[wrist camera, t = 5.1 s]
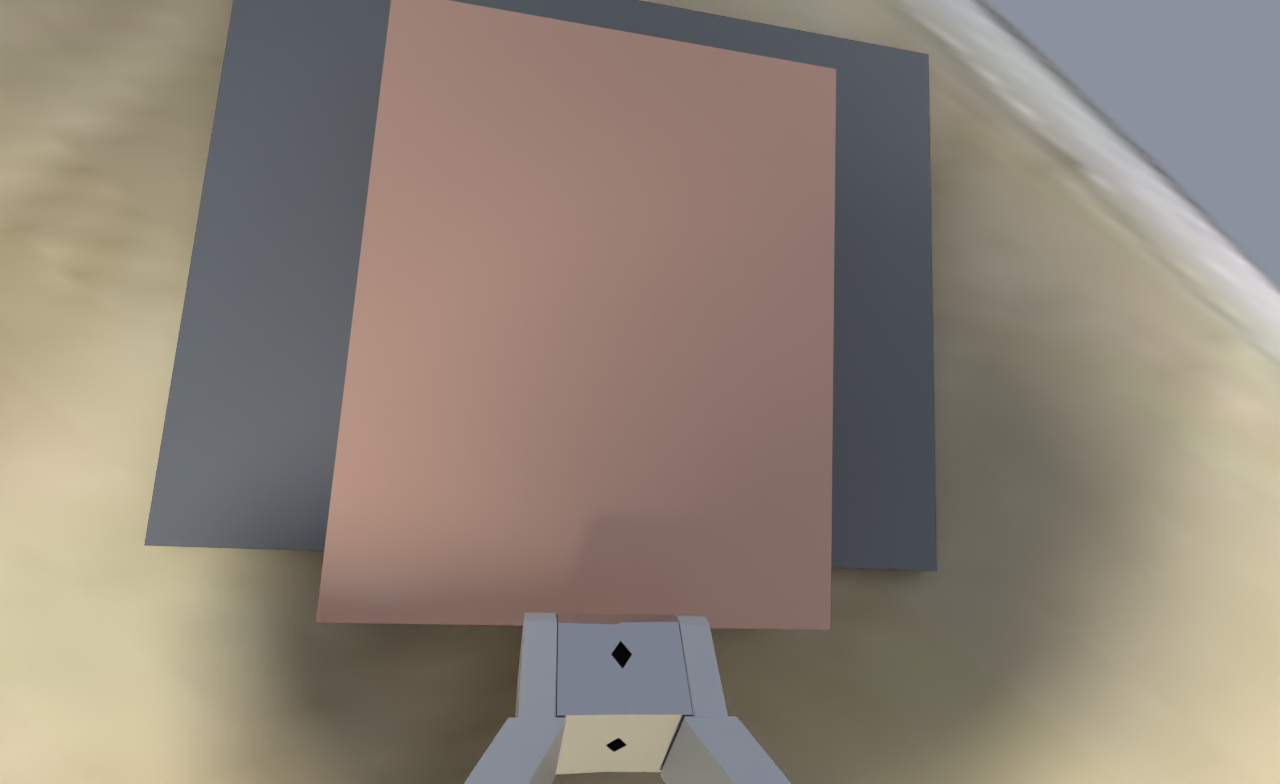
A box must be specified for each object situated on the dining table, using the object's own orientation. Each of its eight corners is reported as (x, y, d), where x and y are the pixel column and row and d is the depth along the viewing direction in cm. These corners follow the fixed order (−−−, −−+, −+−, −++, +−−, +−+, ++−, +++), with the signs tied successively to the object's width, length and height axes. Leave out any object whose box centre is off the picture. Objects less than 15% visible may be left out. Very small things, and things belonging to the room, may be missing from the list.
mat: (923, 567, 18) (936, 570, 18) (159, 542, 15) (144, 545, 14) (916, 66, 21) (928, 54, 20) (255, -55, 17) (245, -73, 17)
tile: (830, 630, 15) (836, 68, 17) (315, 622, 13) (392, -10, 15) (786, 608, 17) (795, 121, 19) (349, 599, 15) (410, 59, 17)
